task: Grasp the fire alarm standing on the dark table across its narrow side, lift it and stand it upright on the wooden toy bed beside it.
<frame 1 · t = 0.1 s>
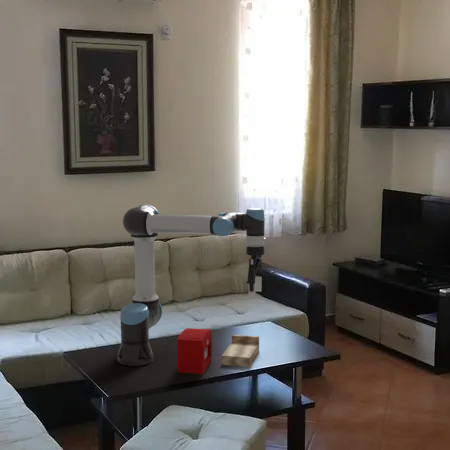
hand: (255, 295, 290), 28 cm above the table, fingers open, 13 cm apart
fire alarm: (195, 367, 284), on the table
wooden toy bed: (240, 358, 295), on the table
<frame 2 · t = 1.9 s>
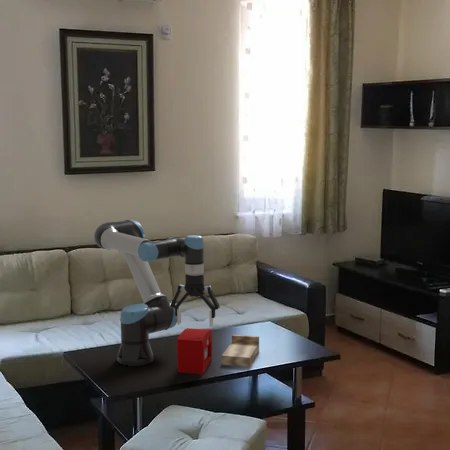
hand: (195, 324, 282), 18 cm above the table, fingers open, 13 cm apart
nothing on the table moved.
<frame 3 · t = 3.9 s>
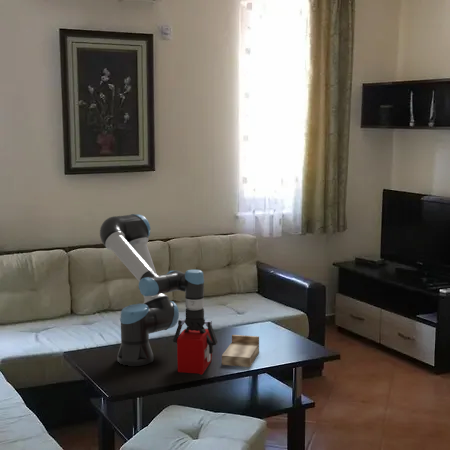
hand: (195, 359, 284), 3 cm above the table, fingers closed on fire alarm, 11 cm apart
fire alarm: (195, 367, 284), on the table, touching gripper
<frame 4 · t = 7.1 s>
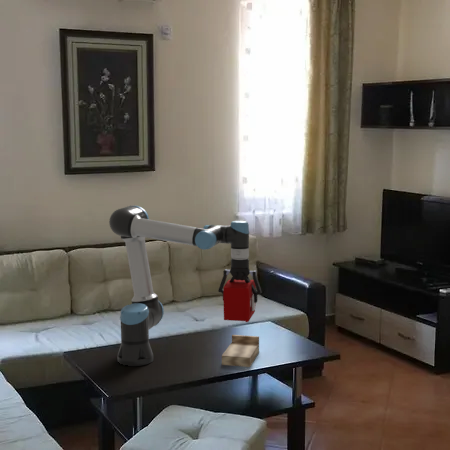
hand: (240, 309, 291), 22 cm above the table, fingers closed on fire alarm, 11 cm apart
fire alarm: (240, 316, 291), point 19 cm above the table, touching gripper
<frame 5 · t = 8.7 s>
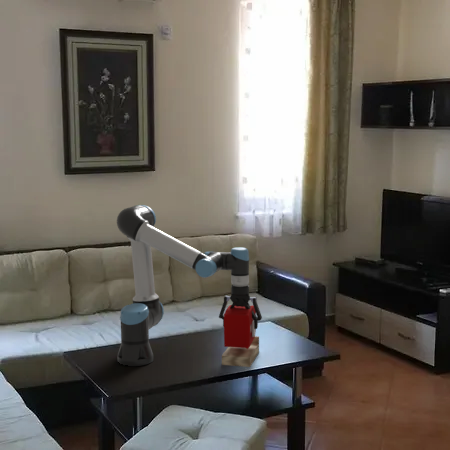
hand: (240, 335, 292), 11 cm above the table, fingers closed on fire alarm, 11 cm apart
fire alarm: (240, 342, 293), point 7 cm above the table, touching gripper
when the fingers open (8 cm above the table, at t = 10.1 s): fire alarm drops 1 cm, resting on wooden toy bed.
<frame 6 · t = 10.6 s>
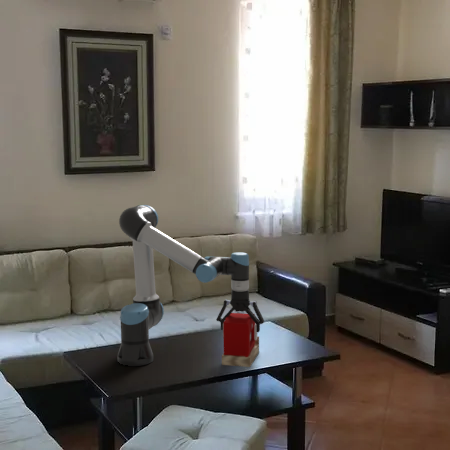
hand: (240, 338, 292), 9 cm above the table, fingers open, 13 cm apart
fire alarm: (239, 350, 293), point 4 cm above the table, touching wooden toy bed
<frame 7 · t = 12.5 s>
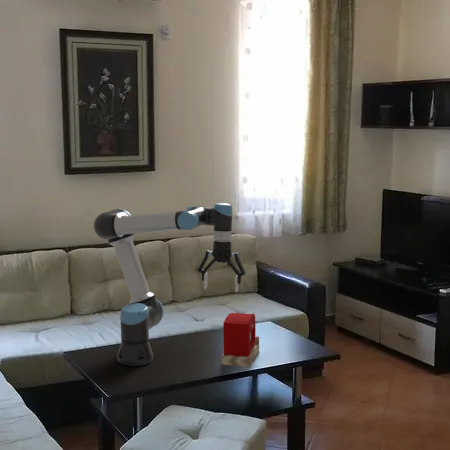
hand: (221, 289, 292), 30 cm above the table, fingers open, 13 cm apart
nothing on the table moved.
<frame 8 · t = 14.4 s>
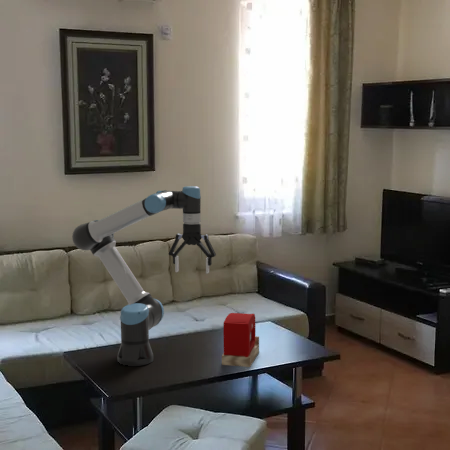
hand: (192, 272, 294), 37 cm above the table, fingers open, 13 cm apart
nothing on the table moved.
at the end: fire alarm inside the target area on the wooden toy bed (1.6 cm from its centre), point 3.8 cm above the wooden toy bed's base; fire alarm tilted 0°; fire alarm touching wooden toy bed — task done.
